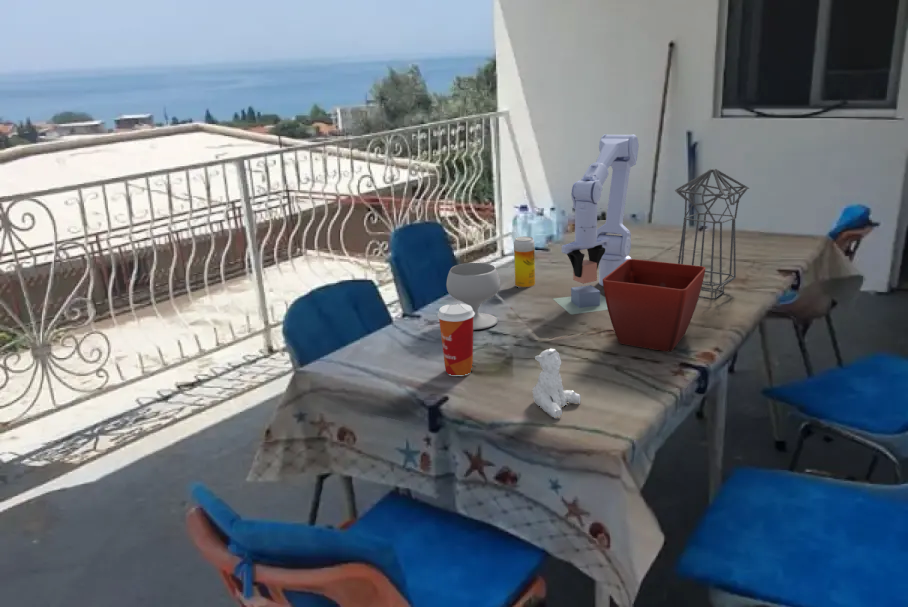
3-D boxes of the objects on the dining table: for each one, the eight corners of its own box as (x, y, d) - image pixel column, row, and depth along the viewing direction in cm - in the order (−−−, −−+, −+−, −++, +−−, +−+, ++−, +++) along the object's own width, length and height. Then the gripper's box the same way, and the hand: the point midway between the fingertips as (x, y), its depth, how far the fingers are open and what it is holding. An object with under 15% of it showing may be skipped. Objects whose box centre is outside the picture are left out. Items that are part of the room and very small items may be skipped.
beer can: (534, 289, 212) (533, 241, 208) (513, 289, 214) (512, 241, 209) (536, 283, 218) (535, 236, 213) (516, 283, 219) (515, 236, 214)
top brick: (586, 277, 197) (586, 259, 196) (596, 280, 193) (596, 263, 192) (573, 280, 195) (573, 262, 194) (583, 283, 191) (583, 265, 190)
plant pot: (681, 360, 159) (685, 289, 153) (599, 347, 169) (601, 279, 163) (702, 332, 174) (706, 266, 169) (626, 321, 184) (628, 258, 178)
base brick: (591, 298, 200) (591, 285, 198) (599, 305, 194) (600, 291, 193) (571, 301, 198) (571, 287, 197) (579, 307, 193) (579, 294, 192)
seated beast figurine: (556, 421, 136) (556, 363, 132) (520, 408, 141) (519, 353, 137) (583, 402, 142) (583, 347, 139) (547, 391, 148) (547, 338, 144)
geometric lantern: (666, 295, 201) (672, 171, 191) (691, 282, 212) (698, 164, 202) (721, 305, 191) (730, 174, 181) (744, 291, 202) (754, 166, 191)
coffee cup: (439, 365, 163) (435, 304, 158) (475, 362, 164) (472, 301, 159) (442, 381, 155) (438, 316, 151) (479, 377, 156) (476, 313, 151)
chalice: (440, 319, 192) (437, 266, 187) (487, 310, 197) (485, 258, 192) (461, 336, 180) (458, 279, 175) (510, 326, 185) (509, 270, 180)
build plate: (598, 295, 204) (598, 292, 204) (619, 310, 191) (619, 308, 191) (552, 301, 202) (552, 298, 201) (570, 317, 189) (570, 314, 188)
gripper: (598, 219, 196) (597, 266, 200) (554, 227, 189) (555, 275, 194) (614, 223, 190) (613, 272, 194) (570, 231, 183) (570, 282, 188)
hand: (585, 274), depth 194 cm, fingers closed on top brick, 4 cm apart
